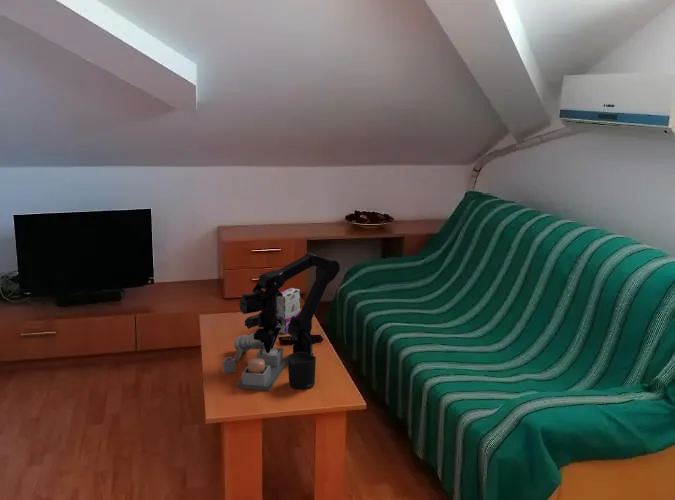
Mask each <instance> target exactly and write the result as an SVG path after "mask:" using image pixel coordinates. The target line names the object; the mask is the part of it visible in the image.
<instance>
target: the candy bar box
mask: <svg viewBox="0 0 675 500" xmlns="http://www.w3.org/2000/svg"><path fill="white" fill-rule="evenodd" d="M280 292H281V293H282V294H283V295H282V296H278V297H277V310H279V313H278V314H277V316H282V317H283V318H284V324H283V326H281V325H280V323H279V324H278V325H277V327H279V328H281V330H280V332H279V334H284V335H287V334H289V333H288V327H289V326H288V324H289V323H290V321H291V318H292V316H294V317H296V316H298V315H299V314H300V312H301V289H298V288H294V287H289V288H288V289H285V290H283V291H280Z"/></svg>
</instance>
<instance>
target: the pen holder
mask: <svg viewBox="0 0 675 500" xmlns="http://www.w3.org/2000/svg"><path fill="white" fill-rule="evenodd" d="M287 359H288V363H287V373H288V384H289V387H291V389H294V390H297V391H304V390H310V389H312V388H313V387H314V386H315V382H316V381H315V380H316V367H317V366H316V363H317V362H316V361H317V360H316V359H317V357H316V356H314V355H313V356H311V355H309V354H307V353H305V352H296V353H293V352H292V353H290V354H289V355H287Z"/></svg>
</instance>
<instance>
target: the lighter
mask: <svg viewBox="0 0 675 500" xmlns="http://www.w3.org/2000/svg"><path fill="white" fill-rule="evenodd" d="M243 353H244V352H243V349H241V348H238V350H236V353H235V355H234V357H232V356H227V357H226V358H225V359H223V360H222V372H223V373H224V374H230V373H235V372H236V370H237V369H236V364H237V363H236V361H237V362H238V361H240V359H241V357H242V354H243Z"/></svg>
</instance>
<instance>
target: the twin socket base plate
mask: <svg viewBox="0 0 675 500" xmlns="http://www.w3.org/2000/svg"><path fill="white" fill-rule="evenodd" d="M264 348H265V347H263V348H261V349H259V351H258V352H257V353H256V358H260V359H263V360H264V361H265V372H264V373H263V374H256V373H248V365H246V367H245V369H243V370H242V373H241V378H240V380H239V381H238V382H237V383H236V386H237V389H243V390H253V391H254V390H255V391H256V390H257V391H263V392H264V391H266V392H270V390H271V389H272V387H273V386H274V384H275V383H276V381H277V379H278V378H279V376H281V374H282V372H283V370H284V369H285V367H286V366H287V365H288V358H284V348H283V347H275V348H276V349H277V350H278V353H277V355H276V356H275V355H264V354H262V350H263V349H264Z"/></svg>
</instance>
